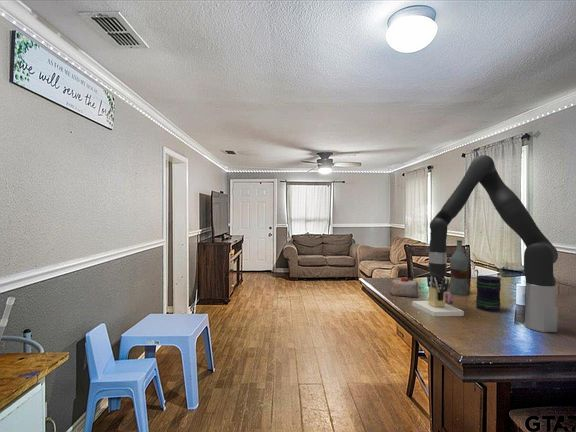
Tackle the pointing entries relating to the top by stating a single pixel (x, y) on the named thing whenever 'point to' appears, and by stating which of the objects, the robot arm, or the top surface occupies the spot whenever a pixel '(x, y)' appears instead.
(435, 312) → the base board
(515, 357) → the top surface
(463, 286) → the bottle
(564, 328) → the top surface
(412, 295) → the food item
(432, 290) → the gold rectangular block
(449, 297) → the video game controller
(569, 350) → the top surface
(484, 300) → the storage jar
